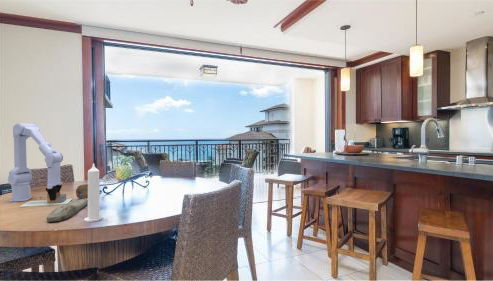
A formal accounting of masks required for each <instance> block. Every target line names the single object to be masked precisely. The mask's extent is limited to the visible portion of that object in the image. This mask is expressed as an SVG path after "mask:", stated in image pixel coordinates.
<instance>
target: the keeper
mask: <svg viewBox="0 0 493 281" xmlns="http://www.w3.org/2000/svg"><path fill="white" fill-rule="evenodd" d="M60 195H61V192H57V193H56V199H55V200H54V201H50V198H49V195H48V193H47V194H46V196H47V197H46V200H47V203H48V202H58V196H60Z"/></svg>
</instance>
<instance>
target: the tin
mask: <svg viewBox="0 0 493 281" xmlns="http://www.w3.org/2000/svg"><path fill="white" fill-rule="evenodd" d="M75 195H76V197H77V199H78V200H80V199H85V198H86V199H88V182H87V183H84V184H80V185H78V186H77V188H76V189H75Z"/></svg>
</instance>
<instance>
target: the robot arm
mask: <svg viewBox="0 0 493 281" xmlns="http://www.w3.org/2000/svg"><path fill="white" fill-rule="evenodd" d="M12 137H13V152H14V153H13V158H14V160H13V161H14V162H13V163H14V166H13V168H12V169H11V170H10V171H9V172H8V176H7V181H8V182H7V183H8V184H9V185H10V186H11V199H10V200H8V202H9V203H12V202H14V203H15V202H26V201H27V202H28V200H30V199H32V198H33V196H31V194H32V193H31V192H32V189H31V188H32V187H31V185H30V183H31V182H32V181H33V175H32V170H31V169H30V168H29V167H28V166H27V165H28V164H27V163H28V162H27V161H28V160H27V140H28V138H32V140H34V141H35V143H36V144H38V150H39V151H40V152H41V153H42V155H43V156H44V157H45V158H44V162H45V163H46V167H47V183H46V186H47V187H45V191H46V193H47V194H48V195H49V198H50V201H54V200H55V199H56V193H57V192H60V191H61V189H62V187H63V184H64V182H62V181H61V163H62V162H63V160H64V156H63V154H62V153H61V152H59V151H56V149H55V148H54V147H53V146H52V144H51V143H50V142H46V140H45V138H44V137H43V136H42V134H41V132H40V127H39V126H38V124H37V123H23V122H22V123H21V122H16V123H15V124H14V125H13V126H12ZM60 193H61V192H60Z"/></svg>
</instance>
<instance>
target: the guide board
mask: <svg viewBox="0 0 493 281" xmlns="http://www.w3.org/2000/svg"><path fill="white" fill-rule="evenodd" d="M71 200H72V201H74V198H67V193H60V196H58V202H48V203H47V199H44V200H43V199H42V200H29V201H27V202H25V203H23V204H21V205H20V206H19V207H18V208H32V207H33V208H34V207H46V206H47V207H49V205H50V206H63V205H67V204H68V203H71V202H72V201H71ZM70 201H71V202H70Z"/></svg>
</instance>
